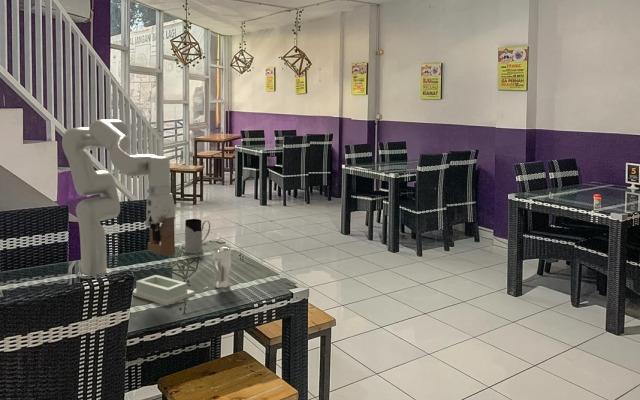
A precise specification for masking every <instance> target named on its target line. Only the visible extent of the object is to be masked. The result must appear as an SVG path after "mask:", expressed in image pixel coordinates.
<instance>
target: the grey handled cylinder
mask: <svg viewBox="0 0 640 400" xmlns="http://www.w3.org/2000/svg"><path fill="white" fill-rule="evenodd" d="M206 222H207V223H208V230H207V233H206V235H205V236H204V238H203V231H204V226H205V223H206ZM184 223H185V227H184V235H185V236H184V240H185V241H184V242H185V243H184V244H185V247H184V248H185V249H184V253H186V254H199V253H203V252H204V250H203V242H204V241H205V240H206V238H207V237H208V235H209V233H210V231H211V223H210V221H209V220H205V221H203V222H202V219H199V218H188V219H186V220H185V222H184Z"/></svg>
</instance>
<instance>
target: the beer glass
mask: <svg viewBox="0 0 640 400" xmlns="http://www.w3.org/2000/svg"><path fill="white" fill-rule="evenodd" d="M231 250H232V249H231V248H230V247H227V246H226V247H225V246H218V247H215V248H213V251H212V252H213V253H212V264H213V269H214V270H213V271H214V277H215V279H214V285H213V287H215V288H216V289H228V288H230V285H231V284H230V271H231V265H232V251H231Z"/></svg>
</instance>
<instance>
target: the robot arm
mask: <svg viewBox="0 0 640 400" xmlns="http://www.w3.org/2000/svg"><path fill="white" fill-rule="evenodd" d="M128 133H129V132H128V126H127V124H126V123H125V122H124V121H122V120H120V119H111V118H110V119H97V120H94V121H93V122H91V123H90V125H89V127H88V126H81V127H80V126H79V127H73V128H70V129H68V130H66V131H65V132H64V134H63V135H62V139H61V140H62V141H61V145H62V146H61V147H62V149H63V153H64V155H65V157H66V159H67V161H68V165H69V168H70V169H69V170H70V173H71V178H72V182H73V185H74V189H75V192H76V194H77V195H79V196H82V197H84V196H85V197H87V196H94V195H99V196H98V197H92V198H87V199H83V200H81V201H79V202H78V203H77V205H76V207H75V215H76V218H77V222H78V227H79V240H80V242H79V243H80V263H78V264H77V267H78V268H80V271H78V272H77V277H78V278H79V279H82V280H83V279H84V280H92V279H91V278H95V277H82V276H79V275H80V273H81V275H82V274H84V275H96V274H102V273H105V272H107V273H109V272H110V273H109V274H107V275H108V276H110V275H111V273H112V270H111V269H110V268H108V266H107V265H108V262H107V243H106V242H107V241H106V240H107V239H106V230H105V229H104V227H103V225H102V224H101V222H102V221H106V220H111V219H115V218H117V217H118V216H119V215H120V213H121V202H120V198H119V194H118V189H117V185H116V180H115V178H114V177H113V175H112V174H111V173H110V171H107V170H95V167H94V165H93V160H92V158H91V156H89V154H88V153H87V152H86V151H85V150H86V149H102V148H104V149H106V150H107V151H108V152H109V158H110V161H111V163H112V165H113V167H114V168H116V170H118V171H120V173H122V174H123V175H125V176H127V177H138V176H148V177H147V178H148V189H147V190H146V191H147V192H146V193H148V194H147V197H146V209H145V210H146V211H145V212H146V213H145V214H146V215H145V216H146V220H145V221H144V225H145V226H146V227H148V228H149V230H150V229H151V230H152V235H153V241H157V242H159V241H160V242H161V236H160V231H158V229H159V224H161V225H162V224H163V222H164V221H165V220H166V219H167V218H171V217H174V221H175V220H176V211H175V209H176V208H175V201H174V197H173V196H174V195H173V193H171V165H170V164H171V163H170V162H171V161H170V158H169V157H167V156H164V155H163V156H161V155H156V154H151V153H145V154H133V155H130V154H128V153H126V152H127V151H128V150H129V148H130V144H131V141H130V139H129V137H128ZM154 225H155V226H154ZM78 274H79V275H78ZM103 275H104V274H103Z"/></svg>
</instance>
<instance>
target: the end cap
mask: <svg viewBox="0 0 640 400" xmlns="http://www.w3.org/2000/svg"><path fill="white" fill-rule="evenodd" d="M133 289H134V291H133V295H132V296H135V297H138V298H141V299H144V300H148V301H151V302H153V303H157V304H160V305H164V306H169V305H172V304H174V303H176V302H178V301H181V300H184V299H186V298H187V299H188V298H189V297H192V296H194V295H196V291H195V290H191V289H188V282H186V281H185V282H184V281H182V280H181V281H180V280H177V279H173V278H170V277H165V276H162V275H159V274H154V275H151V276H148V277H145V278H142V279H138V280H135V288H133Z"/></svg>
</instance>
